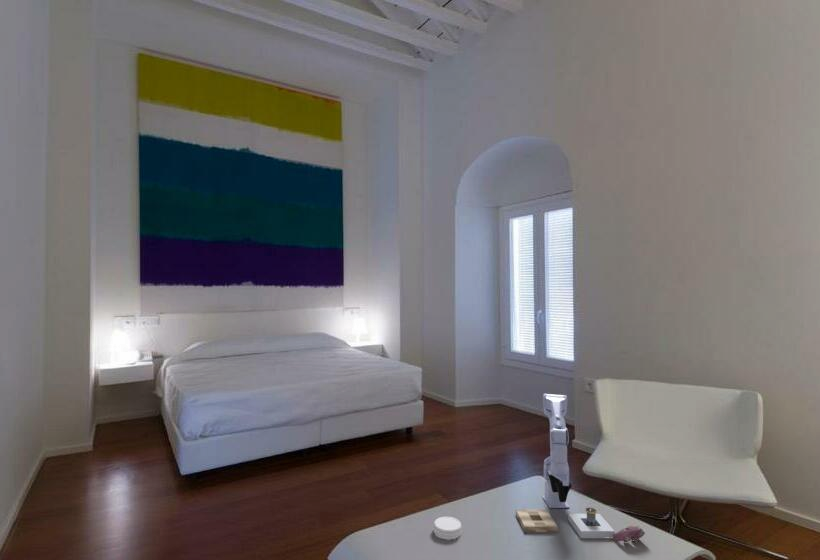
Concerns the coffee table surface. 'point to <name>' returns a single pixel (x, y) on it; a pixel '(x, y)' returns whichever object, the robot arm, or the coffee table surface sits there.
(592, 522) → the lock pin
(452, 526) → the white round disc
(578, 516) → the dock
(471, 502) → the coffee table surface
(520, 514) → the pin mount
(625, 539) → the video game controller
